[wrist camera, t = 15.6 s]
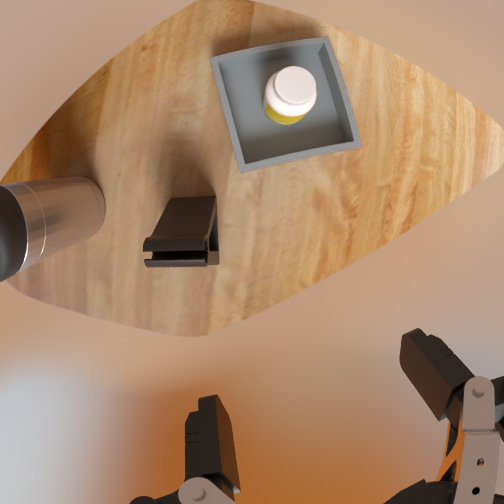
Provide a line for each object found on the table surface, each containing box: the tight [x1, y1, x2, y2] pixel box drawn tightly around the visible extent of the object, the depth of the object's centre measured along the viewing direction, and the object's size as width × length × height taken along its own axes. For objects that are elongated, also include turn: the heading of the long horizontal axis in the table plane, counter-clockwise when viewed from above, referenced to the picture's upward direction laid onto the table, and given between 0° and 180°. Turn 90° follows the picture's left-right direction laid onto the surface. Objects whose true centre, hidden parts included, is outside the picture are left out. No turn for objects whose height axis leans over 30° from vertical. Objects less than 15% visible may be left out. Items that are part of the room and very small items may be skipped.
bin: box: [209, 37, 362, 173], centre depth 33 cm, size 15×15×4 cm
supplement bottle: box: [263, 66, 317, 126], centre depth 29 cm, size 5×5×10 cm
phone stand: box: [143, 196, 219, 267], centre depth 33 cm, size 9×6×12 cm, turn 1°
